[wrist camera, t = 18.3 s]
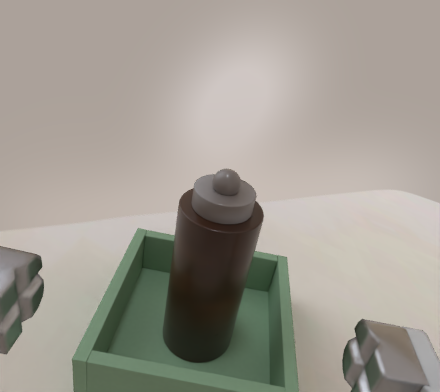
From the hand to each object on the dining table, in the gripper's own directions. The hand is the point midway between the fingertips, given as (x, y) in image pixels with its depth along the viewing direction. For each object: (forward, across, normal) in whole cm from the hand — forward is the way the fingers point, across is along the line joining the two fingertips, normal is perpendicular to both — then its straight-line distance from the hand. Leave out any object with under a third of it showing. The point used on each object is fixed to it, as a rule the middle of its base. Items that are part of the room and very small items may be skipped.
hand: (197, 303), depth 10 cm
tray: (+12, 0, +16) cm, 20 cm away
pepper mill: (+12, 0, +15) cm, 19 cm away
